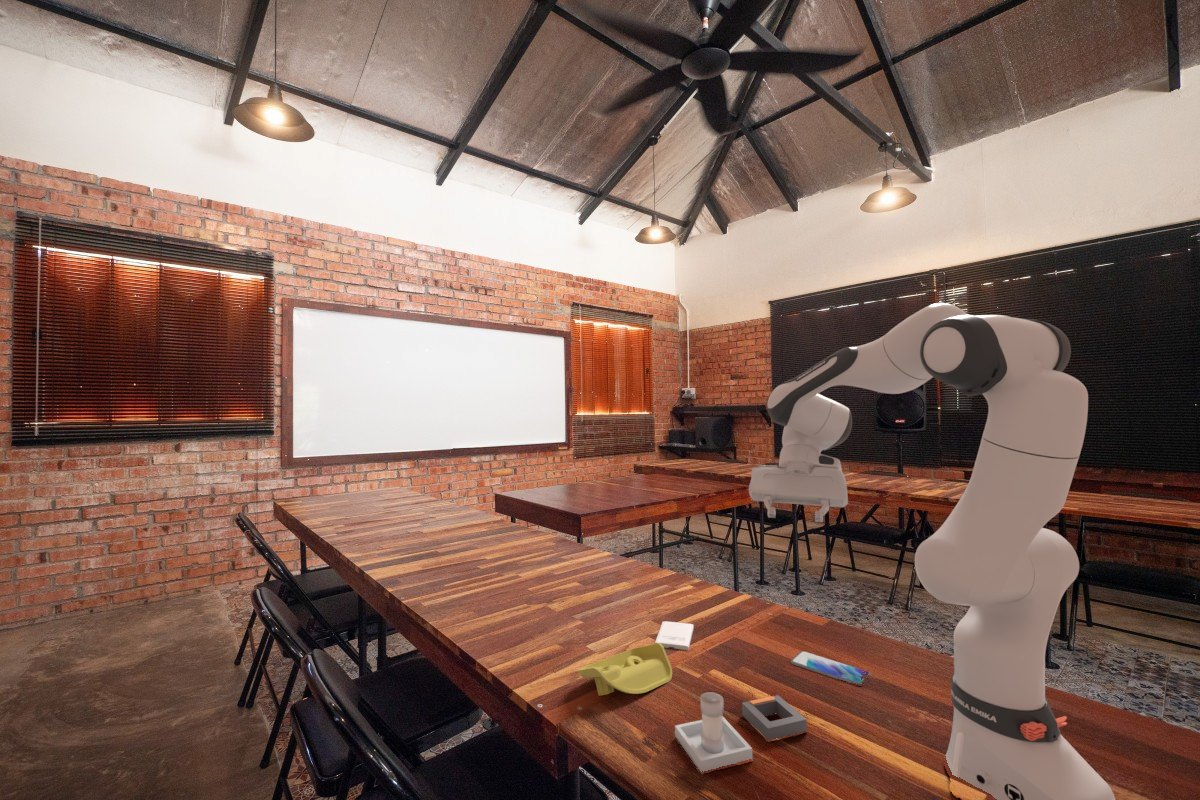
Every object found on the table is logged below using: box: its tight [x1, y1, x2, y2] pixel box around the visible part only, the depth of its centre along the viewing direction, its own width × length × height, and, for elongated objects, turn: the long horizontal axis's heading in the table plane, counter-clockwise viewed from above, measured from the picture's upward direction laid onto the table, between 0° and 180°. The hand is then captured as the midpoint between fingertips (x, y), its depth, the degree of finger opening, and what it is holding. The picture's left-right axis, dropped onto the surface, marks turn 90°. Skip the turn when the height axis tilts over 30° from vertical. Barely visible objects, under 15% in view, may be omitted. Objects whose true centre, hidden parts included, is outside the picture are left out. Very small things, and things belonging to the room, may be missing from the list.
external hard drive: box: [654, 620, 695, 651], centre depth 129 cm, size 2×8×12 cm
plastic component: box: [577, 643, 673, 697], centre depth 108 cm, size 20×7×10 cm
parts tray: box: [674, 715, 753, 772], centre depth 87 cm, size 9×9×2 cm
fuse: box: [700, 691, 724, 754], centre depth 87 cm, size 4×4×8 cm
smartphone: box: [790, 650, 871, 684], centre depth 113 cm, size 7×1×15 cm
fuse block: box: [741, 695, 808, 740], centre depth 93 cm, size 8×8×3 cm
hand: (794, 518), depth 108 cm, fingers open, 8 cm apart
